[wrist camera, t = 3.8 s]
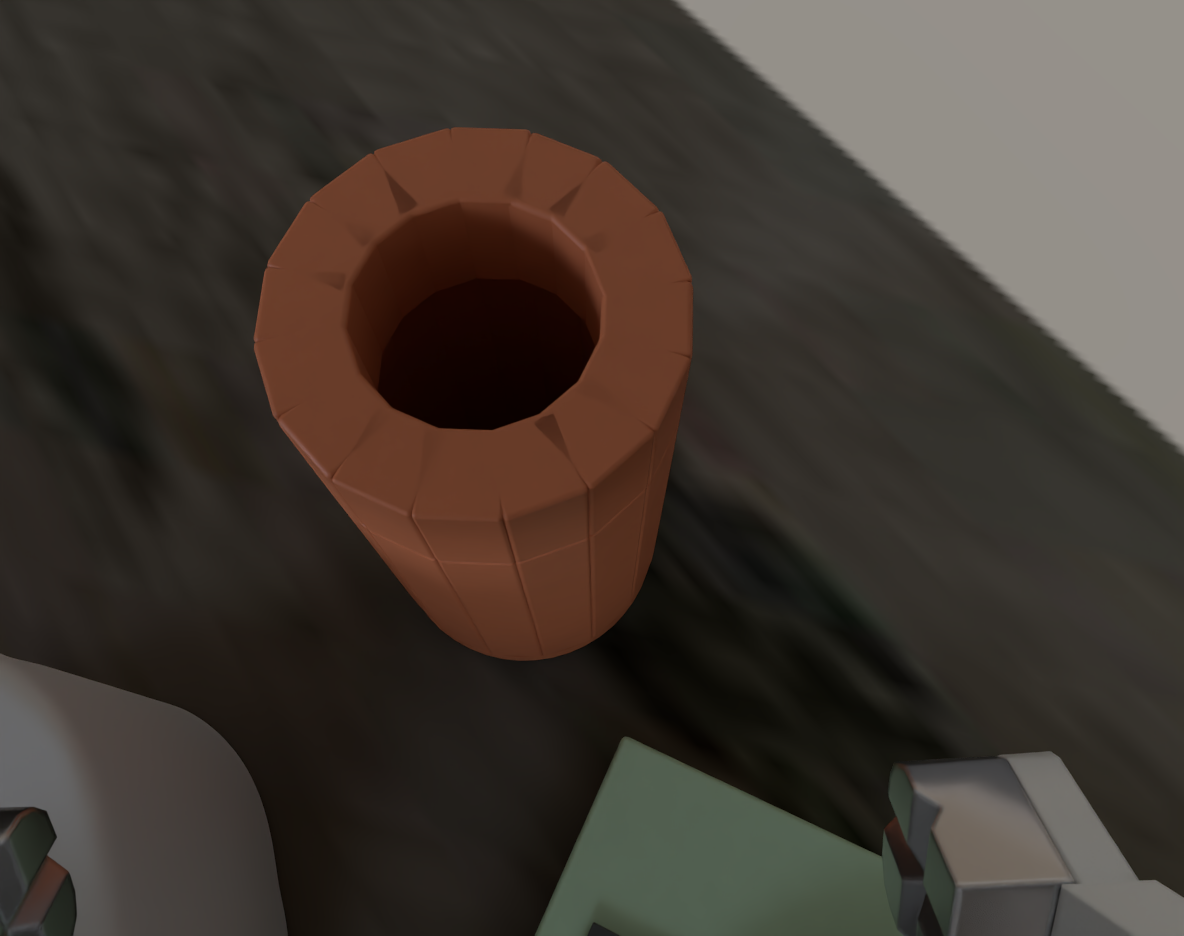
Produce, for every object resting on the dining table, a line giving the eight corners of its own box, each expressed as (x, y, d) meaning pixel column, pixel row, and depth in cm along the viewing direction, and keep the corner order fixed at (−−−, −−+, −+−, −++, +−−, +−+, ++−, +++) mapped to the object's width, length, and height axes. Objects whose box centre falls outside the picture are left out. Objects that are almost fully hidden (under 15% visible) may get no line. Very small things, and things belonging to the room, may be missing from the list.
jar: (691, 477, 22) (759, 216, 13) (587, 704, 21) (579, 595, 11) (472, 383, 23) (386, 71, 14) (356, 595, 22) (170, 408, 12)
